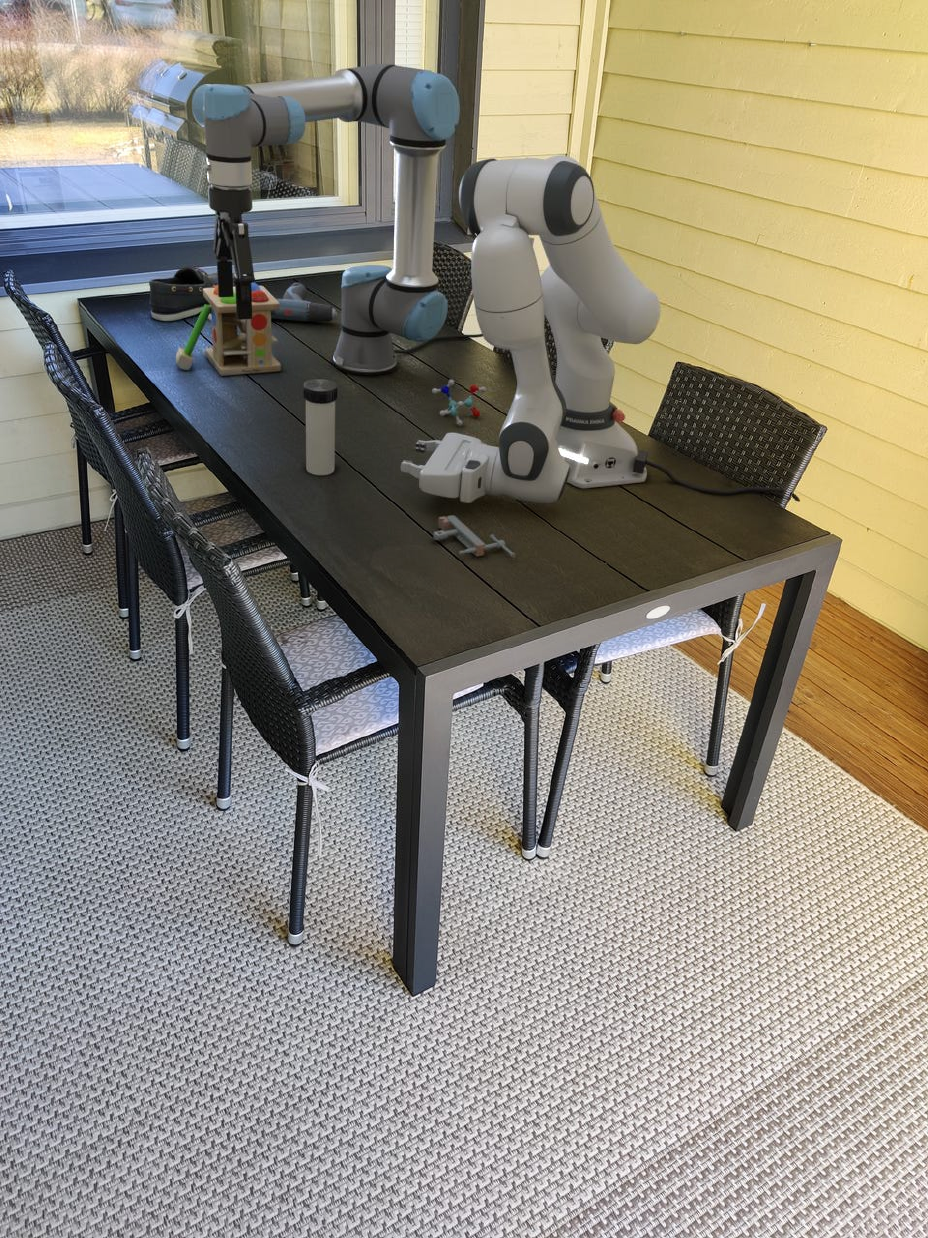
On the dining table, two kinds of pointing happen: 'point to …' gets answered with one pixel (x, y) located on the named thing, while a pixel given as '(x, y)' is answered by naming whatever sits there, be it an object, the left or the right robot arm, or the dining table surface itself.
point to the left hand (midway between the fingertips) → (235, 307)
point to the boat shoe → (180, 293)
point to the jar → (320, 438)
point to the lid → (320, 391)
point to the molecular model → (454, 405)
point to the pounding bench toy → (235, 334)
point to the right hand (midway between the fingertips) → (409, 455)
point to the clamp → (466, 537)
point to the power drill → (301, 307)
